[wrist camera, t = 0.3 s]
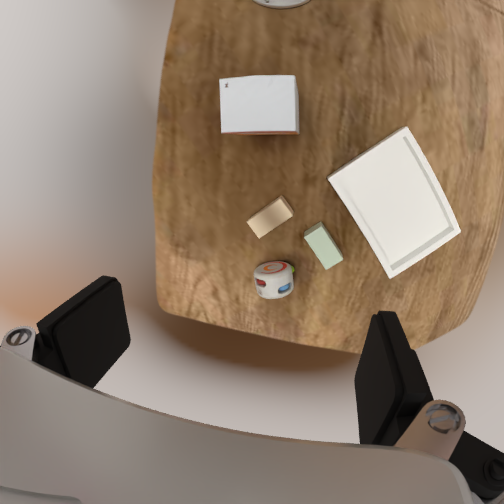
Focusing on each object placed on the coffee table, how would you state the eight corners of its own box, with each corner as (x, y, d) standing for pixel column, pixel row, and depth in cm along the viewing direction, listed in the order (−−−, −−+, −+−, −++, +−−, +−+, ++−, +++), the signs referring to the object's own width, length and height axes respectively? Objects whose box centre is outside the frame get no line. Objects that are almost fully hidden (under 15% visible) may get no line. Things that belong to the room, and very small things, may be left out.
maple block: (262, 232, 47) (259, 238, 44) (250, 217, 46) (246, 222, 44) (293, 211, 45) (292, 215, 42) (282, 194, 44) (280, 198, 42)
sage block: (304, 231, 46) (303, 237, 43) (320, 220, 45) (321, 226, 42) (325, 262, 47) (326, 269, 44) (341, 252, 46) (343, 259, 43)
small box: (244, 136, 42) (219, 134, 30) (243, 95, 40) (217, 77, 28) (300, 135, 41) (296, 132, 29) (299, 93, 38) (295, 73, 26)
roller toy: (296, 283, 49) (294, 301, 43) (258, 286, 50) (252, 304, 45) (293, 258, 47) (291, 273, 42) (254, 262, 49) (247, 277, 43)
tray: (326, 176, 42) (327, 178, 40) (401, 127, 37) (407, 126, 35) (386, 272, 45) (389, 279, 43) (454, 227, 40) (461, 231, 38)
